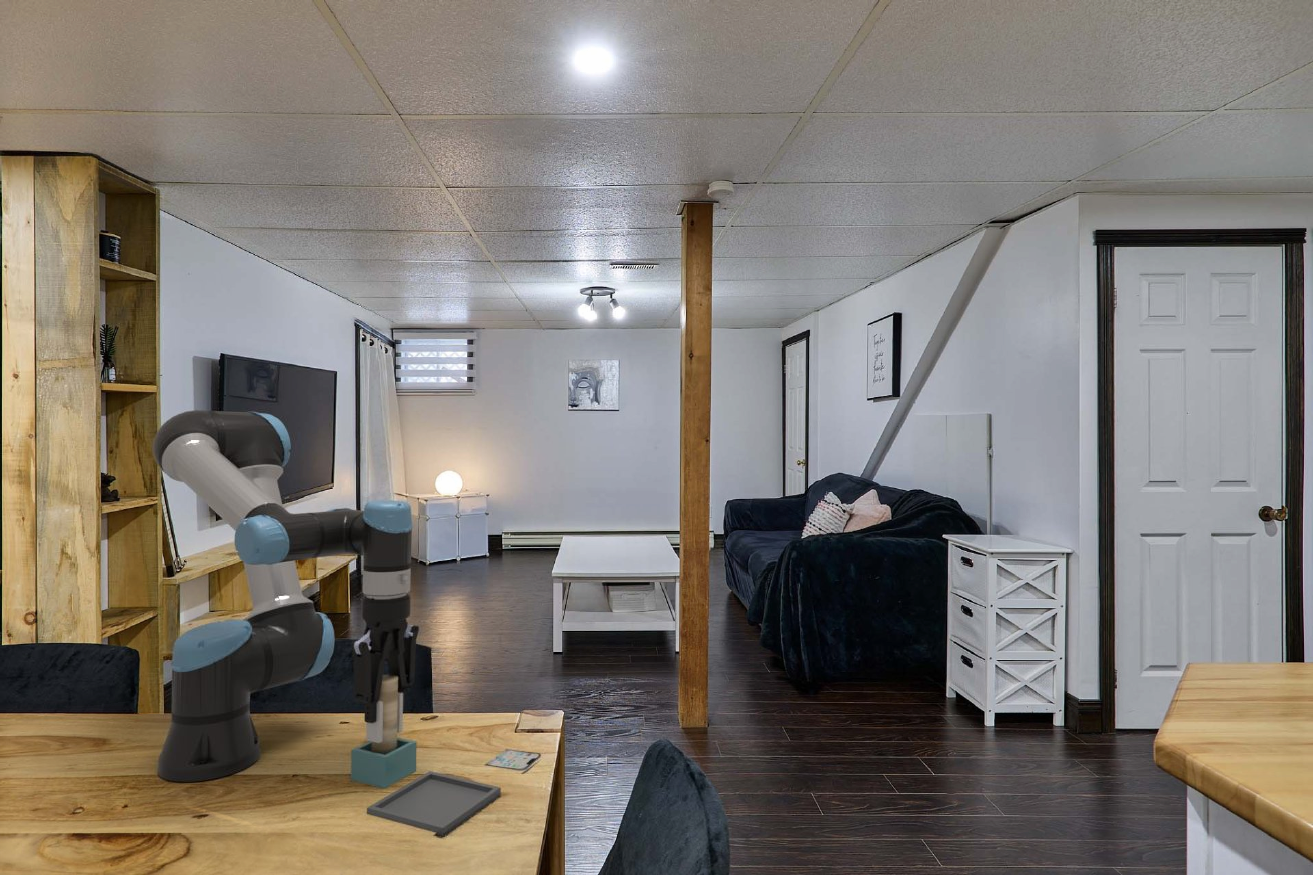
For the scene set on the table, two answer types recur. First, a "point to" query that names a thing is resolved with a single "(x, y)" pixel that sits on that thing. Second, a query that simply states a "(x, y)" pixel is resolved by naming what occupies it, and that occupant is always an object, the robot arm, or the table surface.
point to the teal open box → (383, 764)
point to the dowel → (388, 715)
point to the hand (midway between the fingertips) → (384, 735)
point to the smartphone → (514, 760)
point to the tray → (436, 802)
